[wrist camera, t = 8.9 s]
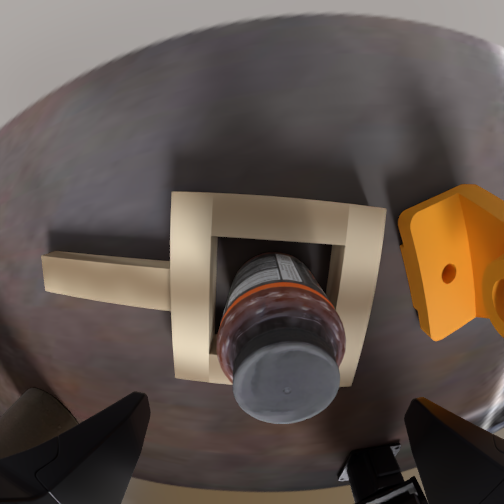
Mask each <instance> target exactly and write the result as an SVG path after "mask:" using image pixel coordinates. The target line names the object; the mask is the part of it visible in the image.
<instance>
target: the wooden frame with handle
mask: <svg viewBox="0 0 504 504" xmlns="http://www.w3.org/2000/svg"><path fill="white" fill-rule="evenodd" d="M385 218H386V209H385V208H379V207H372V206H365V205H357V204H348V203H339V202H330V201H321V200H310V199H300V198H288V197H276V196H262V195H247V194H230V193H209V192H172V198H171V228H170V261H162V260H150V259H138V258H127V257H115V256H104V255H93V254H82V253H72V252H62V251H54V252H51V253H48V254H45V255H42V256H41V257H42V267H43V276H44V283H45V290H46V291H48V292H53V293H58V294H63V295H69V296H74V297H79V298H85V299H91V300H97V301H103V302H109V303H115V304H122V305H128V306H135V307H143V308H150V309H158V310H166V311H171V320H172V339H173V354H174V367H175V378H180V379H187V380H194V381H202V382H211V383H220V384H231V385H233V384H232V383H231V382H230V381H229V380H228V378H227V377H226V376H225V374H224V373H223V371H222V369H221V367H220V364H219V361H218V357H217V350H216V348H217V335H218V334H215V303H216V270H217V244H218V236H220V237H235V238H250V239H265V240H279V241H293V242H306V243H320V244H332V251H331V259H330V267H329V275H328V282H327V289H326V296H327V297H328V299H329V300H330V302H331V303H332V304H333V306H334V308H335V310H336V312H337V313H338V315H339V317H340V319H341V321H342V323H343V327H344V330H345V336H346V347H345V348H346V350H345V354H344V357H343V360H342V363H341V364H340V366H339V372H340V385H339V387H348V386H351V385H352V382H353V378H354V375H355V372H356V368H357V365H358V361H359V357H360V354H361V350H362V346H363V342H364V338H365V334H366V330H367V326H368V321H369V317H370V312H371V307H372V303H373V298H374V293H375V287H376V282H377V276H378V270H379V264H380V257H381V251H382V243H383V236H384V227H385Z"/></svg>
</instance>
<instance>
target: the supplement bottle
mask: <svg viewBox="0 0 504 504" xmlns="http://www.w3.org/2000/svg"><path fill="white" fill-rule="evenodd" d="M345 347H346V336H345V330H344V327H343V323H342V321H341V319H340V317H339V315H338V313H337V312H336V310H335V308H334V306H333V304H332V303H331V302H330V300H329V299H328V297H327V296H326V294H325V293H324V292H323V290H322V288H321V287H320V286H319V284H318V282H317V281H316V279H315V278H314V276H313V274H312V273H311V272H310V270H309V269H308V268H307V267H306V266H305V265H304V264H303V263H302V262H301V261H300V260H298V259H297V258H295V257H293V256H291V255H288V254H285V253H280V252H267V253H263V254H260V255H257V256H255V257H253V258H251V259H250V260H248V261H247V262H246V263H245V264H244V265H243V266H242V267H241V268H240V269H239V270H238V272H237V274H236V276H235V278H234V280H233V283H232V286H231V289H230V293H229V296H228V299H227V302H226V306H225V309H224V313H223V316H222V320H221V323H220V327H219V331H218V335H217V348H216V350H217V357H218V361H219V364H220V367H221V369H222V371H223V373H224V374H225V376H226V377H227V378H228V380H229V381H230V382H231V383H232V384H233V393H234V397H235V400H236V401H237V403H238V404H239V406H240V407H241V408H242V409H243V410H244V411H245V412H246V413H247V414H249V415H251V416H252V417H254V418H256V419H258V420H261V421H265V422H269V423H275V424H290V423H295V422H299V421H303V420H306V419H308V418H311V417H313V416H315V415H316V414H318V413H320V412H321V411H322V410H324V409H325V408H326V407H327V406H328V405H329V404H330V403H331V402H332V400H333V399H334V398H335V396H336V394H337V391H338V389H339V385H340V372H339V366H340V364H341V363H342V360H343V357H344V354H345V350H346V348H345Z"/></svg>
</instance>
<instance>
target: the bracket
mask: <svg viewBox="0 0 504 504" xmlns="http://www.w3.org/2000/svg"><path fill="white" fill-rule="evenodd" d="M398 227H399V231H400V234H401V238H402V241H403V244H402V245H400V249H401V253H402V257H403V261H404V265H405V269H406V274H407V278H408V282H409V287H410V292H411V297H412V302H413V307H414V308H415V309H416V310H418V315H419V322H420V327H421V329H422V330H423V331H424V332H425V333H426V334H427V335H428V336H429V337H430V338H431V339H433V340H434V341H439V340H441V339H443V338H444V337H446V336H448V335H449V334H451V333H452V332H454V331H456V330H457V329H459V328H460V327H462V326H463V325H465V324H466V323H468V322H469V321H470V320H472V319H473V318H475V317H482V318H490V321H491V322H492V324H493V326H494V327H495V329H496V330H497V331H498V333H499V334H500V335H501V336H502V337H503V338H504V201H503V200H501V199H500V198H498V197H497V196H495V195H493V194H491V193H490V192H488V191H486V190H485V189H483V188H481V187H479V186H477V185H476V184H461V185H459V186H457V187H454V188H452V189H450V190H448V191H446V192H444V193H441V194H439V195H437V196H435V197H433V198H430V199H428V200H426V201H424V202H422V203H419V204H417V205H415V206H413V207H410V208H408V209H406V210H404V211H403V212H402V213H401V214H400V216H399V219H398Z"/></svg>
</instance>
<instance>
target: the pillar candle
mask: <svg viewBox="0 0 504 504" xmlns="http://www.w3.org/2000/svg"><path fill="white" fill-rule="evenodd" d="M76 425H78V423H77V422H76V420H75V418H74V417H73V416H72V415H71V414H70V413H69V411H68V410H67V409H65V408H64V407H63V406H62V405H61V404H60V403H59V402H58V401H57V400H56V399H55V398H54V397H53V396H51V395H50V394H48V393H46V392H44V391H42V390H40V389H37V388H30V389H28V390H27V391H26V392H25V393H24V394H23V395H22V396H21V397H20V398H19V399H18V400H17V401H16V402H15V403H14V404H13V405H12V406H11V407H10V408H9V409H8V410H7V411H6V412H5V413H4V414H3V415H2V416H1V417H0V459H1V458H5V457H8V456H11V455H14V454H17V453H19V452H22V451H25V450H28V449H30V448H33V447H35V446H38V445H40V444H42V443H44V442H46V441H48V440H50V439H52V438H54V437H56V436H58V435H59V434H61V433H63V432H65V431H67V430H69V429H70V428H72V427H74V426H76Z"/></svg>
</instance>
